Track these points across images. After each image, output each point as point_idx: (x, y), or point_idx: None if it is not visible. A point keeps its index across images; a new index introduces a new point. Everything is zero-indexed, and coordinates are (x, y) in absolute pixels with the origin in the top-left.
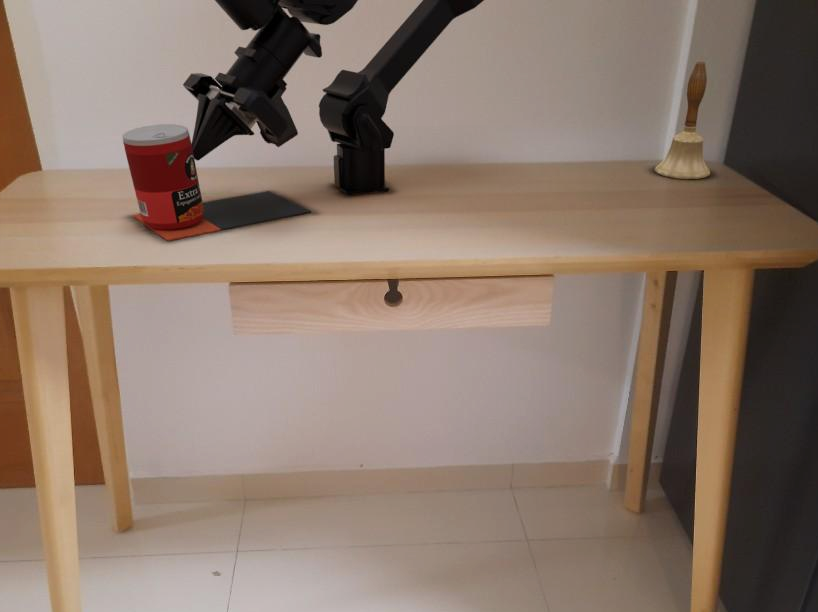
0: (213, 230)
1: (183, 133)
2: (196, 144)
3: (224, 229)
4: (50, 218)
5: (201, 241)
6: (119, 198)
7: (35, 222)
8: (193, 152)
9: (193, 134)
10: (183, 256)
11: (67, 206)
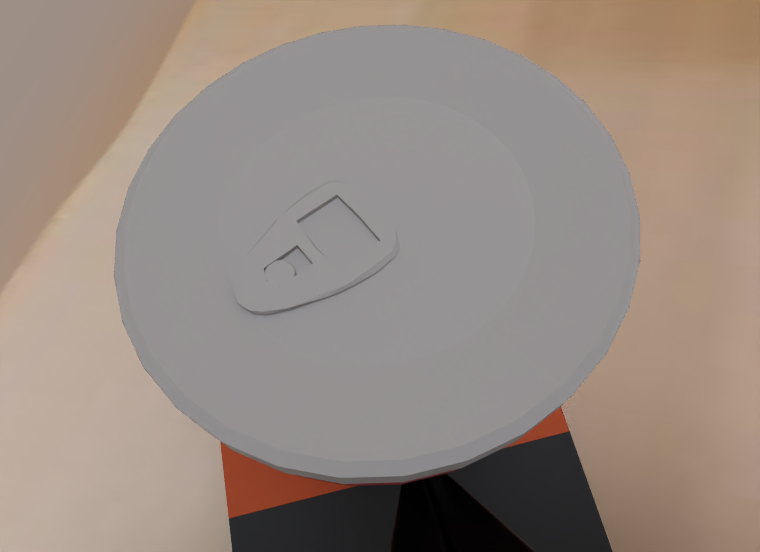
0: (226, 486)
1: (173, 402)
2: (392, 534)
3: (232, 533)
4: (558, 64)
5: (153, 423)
6: (738, 238)
7: (531, 35)
8: (402, 495)
9: (527, 549)
10: (47, 344)
11: (669, 103)
